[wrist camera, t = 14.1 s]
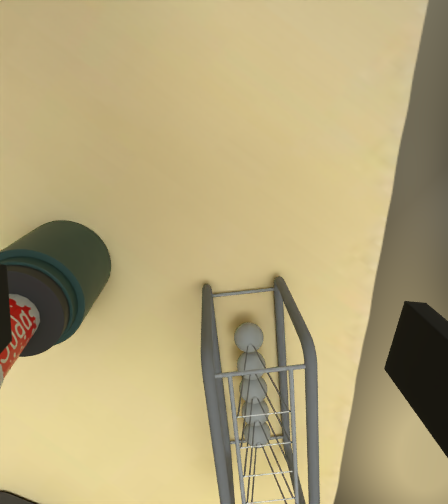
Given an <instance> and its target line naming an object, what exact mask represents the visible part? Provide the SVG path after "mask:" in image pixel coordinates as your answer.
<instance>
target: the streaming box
mask: <svg viewBox="0 0 448 504" xmlns="http://www.w3.org/2000/svg"><path fill="white" fill-rule="evenodd" d="M0 504H33V503H31V502H28V501H26V500H23V499H21V498H18V497H16V496H13V495H11V494H8V493H5V492H0Z"/></svg>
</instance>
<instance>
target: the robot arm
mask: <svg viewBox="0 0 448 504" xmlns="http://www.w3.org/2000/svg"><path fill="white" fill-rule="evenodd" d="M11 341H12V331H11V318H10V305H9V291H8V278H7V265H3V264H0V354H1V353H2V351H3V350H4V349H5V348H6V347H7V346H8V345H9V344H10V342H11ZM385 371H386V372H387V373H388V375H389V376H390V377H391V379H392V380H393V382H394V383H395V385H396V386H397V387H398V389H399V390H400V391H401V393H402V394H403V396H404V397H405V399H406V400H407V401H408V403H409V404H410V406H411V407H412V408H413V410H414V411H415V413H416V414H417V415H418V417H419V418H420V419H421V421H422V422H423V424H424V425H425V427H426V428H427V429H428V431H429V432H430V434H431V435H432V436H433V438H434V439H435V441H436V442H437V443H438V445H439V446H440V447H441V449H442V450H443V452H444V453H445V455H446V456H447V457H448V321H447V320H446V319H445V318H443V317H442V316H441V315H440V314H439V313H437V312H436V311H435V310H434V309H433V308H431V307H430V306H429V305H428V304H427V303H420V302H409V301H405V302H404V306H403V309H402V312H401V315H400V318H399V322H398V325H397V328H396V332H395V335H394V338H393V342H392V345H391V348H390V351H389V355H388V358H387V361H386V365H385Z"/></svg>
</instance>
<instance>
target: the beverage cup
mask: <svg viewBox="0 0 448 504" xmlns="http://www.w3.org/2000/svg"><path fill="white" fill-rule="evenodd" d="M9 305H10V318H11V331H12V341H11V342H10V344H9V345H8V346H7V347H6V348H5V349H4V350H3V351H2V353H1V354H0V388H1V385H2V383H3V380H4V377H5V376H6V374H7V373H8V372H9V370H10V369H11V367H12V366H13V364H14V363H15V361H16V360H17V358H18V357H19V355H20V354H21V352H22V351H23V349H24V348H25V346H26V345H27V343H28V342H29V340H30V339H31V337H32V336H33V334H34V333H35V331H36V330H37V328H38V325H39V323H40V315H39V312H38V310H37V308H36V306H35V305H34V304H33V303H32V302H31V301H30V300H29V299H27V298H25V297H23V296H20V295H18V294H9Z"/></svg>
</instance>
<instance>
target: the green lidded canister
mask: <svg viewBox="0 0 448 504" xmlns="http://www.w3.org/2000/svg"><path fill="white" fill-rule="evenodd" d="M0 264H3V265H7V278H8V291H9V294H18V295H20V296H23V297H25V298H27V299H29V300H30V301H31V302H32V303H33V304H34V305H35V306H36V308H37V310H38V312H39V315H40V323H39V325H38V328H37V330H36V331H35V333H34V334H33V336H32V337H31V339H30V340H29V342H28V343H27V345H26V346H25V348H24V349H23V351H22V352H21V354H20V355H19V357H26V356H33V355H37V354H40V353H42V352H44V351H46V350H48V349H49V348H51V347H52V346H54V345H56V344H59V343H61V342H63V341H65V340H66V339H68V338H69V337H71V336H72V335H73V334H74V333H75V332H76V330H77V329H78V328H79V326H80V325H81V323H82V321H83V320H84V318H85V317H86V315H87V313H88V312H89V310H90V309H91V307H92V305H93V304H94V302H95V300H96V299H97V297H98V296H99V294H100V292H101V291H102V289H103V288H104V286H105V284H106V283H107V281H108V278H109V276H110V271H111V260H110V255H109V252H108V250H107V248H106V246H105V244H104V243H103V241H102V240H101V239H100V238H99V236H98V235H97V234H95V233H94V232H93V231H92V230H90V229H89V228H87V227H85V226H83V225H81V224H78V223H75V222H71V221H52V222H48V223H46V224H43V225H41V226H40V227H38V228H36V229H35V230H33V231H32V232H30V233H28V234H27V235H25V236H24V237H22V238H20V239H19V240H17V241H16V242H14V243H13V244H11V245H9V246H8V247H6V248H5V249H3V250H1V251H0Z"/></svg>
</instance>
